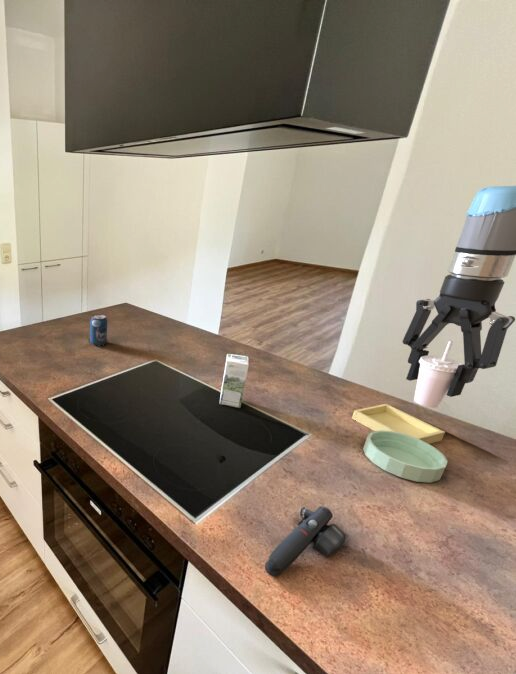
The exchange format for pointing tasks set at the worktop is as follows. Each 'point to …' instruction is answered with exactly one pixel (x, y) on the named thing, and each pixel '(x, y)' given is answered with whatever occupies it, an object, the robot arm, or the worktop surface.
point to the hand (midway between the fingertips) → (432, 386)
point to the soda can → (98, 329)
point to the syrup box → (234, 380)
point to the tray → (397, 423)
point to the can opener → (306, 540)
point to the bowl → (405, 456)
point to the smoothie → (434, 378)
